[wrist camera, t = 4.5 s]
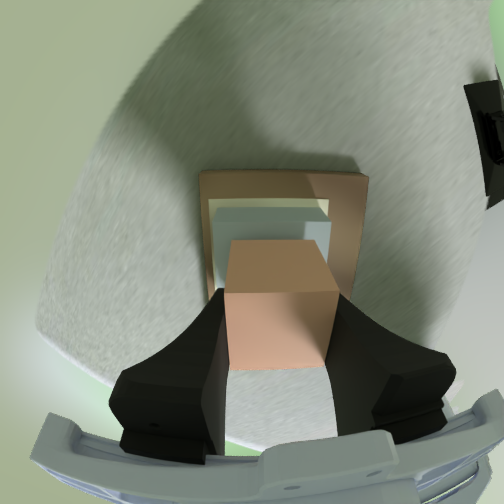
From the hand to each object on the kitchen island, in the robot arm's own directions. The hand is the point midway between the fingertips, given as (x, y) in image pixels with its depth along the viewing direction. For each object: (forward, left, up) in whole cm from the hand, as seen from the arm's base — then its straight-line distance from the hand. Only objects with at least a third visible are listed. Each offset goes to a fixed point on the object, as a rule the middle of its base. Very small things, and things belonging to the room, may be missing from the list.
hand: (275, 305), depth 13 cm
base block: (0, 0, -5) cm, 5 cm away
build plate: (+10, -19, -7) cm, 23 cm away
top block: (0, 0, -2) cm, 2 cm away
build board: (-2, -1, -7) cm, 7 cm away
